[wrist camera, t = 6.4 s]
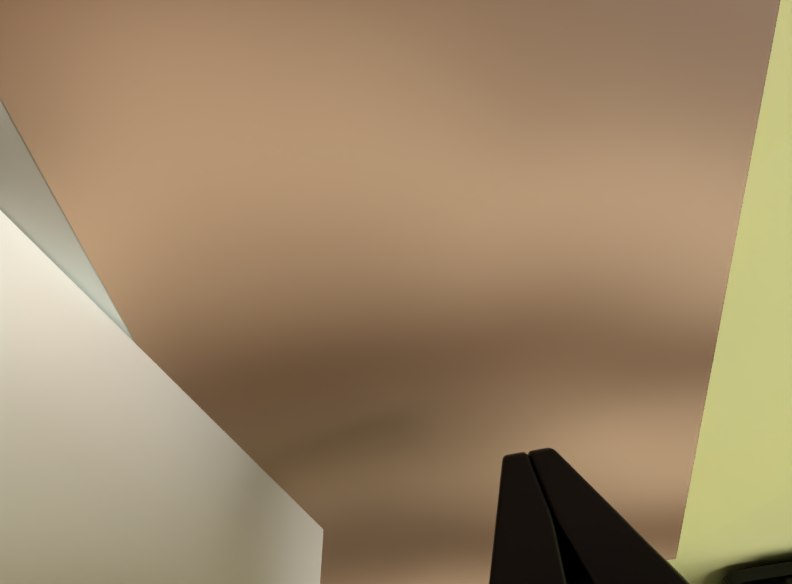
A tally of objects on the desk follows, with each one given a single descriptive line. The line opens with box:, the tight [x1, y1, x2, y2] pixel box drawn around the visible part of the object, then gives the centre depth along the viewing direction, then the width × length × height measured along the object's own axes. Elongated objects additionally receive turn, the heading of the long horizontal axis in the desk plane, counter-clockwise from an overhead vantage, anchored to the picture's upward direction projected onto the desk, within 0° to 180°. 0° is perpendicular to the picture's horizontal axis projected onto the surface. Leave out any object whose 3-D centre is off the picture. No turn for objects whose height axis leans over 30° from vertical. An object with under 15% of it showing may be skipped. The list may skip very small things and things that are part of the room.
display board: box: [0, 0, 780, 584], centre depth 10 cm, size 16×22×5 cm
